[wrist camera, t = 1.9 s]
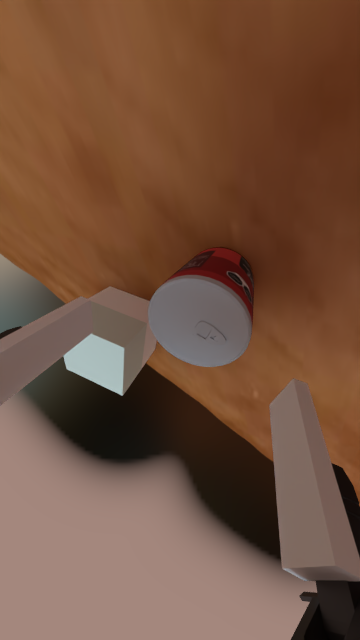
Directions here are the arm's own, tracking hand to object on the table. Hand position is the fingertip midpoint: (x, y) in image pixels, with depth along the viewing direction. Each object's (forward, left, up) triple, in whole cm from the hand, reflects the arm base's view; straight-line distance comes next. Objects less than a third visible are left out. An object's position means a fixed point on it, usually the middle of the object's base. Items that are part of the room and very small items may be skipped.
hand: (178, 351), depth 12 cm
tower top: (+11, +11, -9) cm, 17 cm away
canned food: (0, 0, -14) cm, 14 cm away
